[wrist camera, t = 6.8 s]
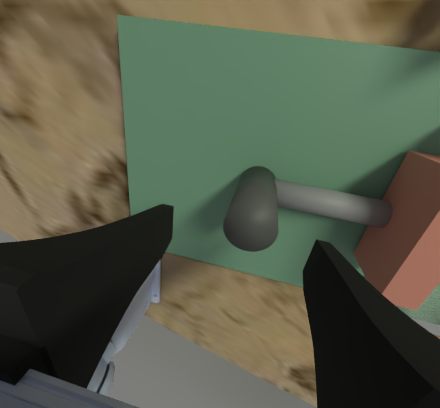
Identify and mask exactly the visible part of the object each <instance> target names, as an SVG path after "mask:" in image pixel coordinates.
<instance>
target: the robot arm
mask: <svg viewBox="0 0 440 408" xmlns="http://www.w3.org/2000/svg"><path fill="white" fill-rule="evenodd" d="M173 213H174V206H171V205H166V204H160V205H157V206H155V207H152V208H150V209H147V210H145V211H142V212H140V213H137V214H135V215H132V216H130V217H127V218H124V219H121V220H119V221H116V222H113V223H110V224H107V225H104V226H100V227H97V228H93V229H89V230H85V231H81V232H76V233H71V234H66V235H61V236H56V237H50V238H43V239H36V240H28V241H19V242H7V243H0V408H138V407H136V406H133V405H130V404H127V403H124V402H122V401H119V400H116V399H113V398H110V397H108V394H109V392H110V389H111V387H112V383H113V378H114V371H115V366H114V363H113V362H112V361H111V359H112V357H113V356H114V355H115V354H116V353H118V352H119V351H120V350H121V349H122V348H123V347H124V346H125V345H126V344H127V342H128V341H129V339H130V337H131V336H132V334H133V332H134V330H135V329H136V327H137V325H138V324H139V322H140V320H141V319H142V317H143V315H144V313H145V312H146V310H147V308H148V307H149V305H150V303H151V302H154V303H159V301H160V260H161V258H162V256H163V255H164V253H165V251H166V250H167V248H168V246H169V244H170V242H171V240H172V235H173ZM303 290H304V296H305V302H306V308H307V313H308V318H309V324H310V329H311V334H312V341H313V348H314V360H315V372H316V389H317V408H440V339H438V338H437V337H436V336H434V335H433V334H432V333H430V332H429V331H427V330H426V329H425V328H423V327H422V326H421V325H419V324H418V323H417V322H415V321H414V320H413V319H411V318H410V317H409V316H408V315H406V314H405V313H404V312H403V311H401V310H400V309H399V308H398V307H396V306H395V305H394V304H393V303H392V302H390V301H389V300H388V299H387V298H386V297H385V296H383V295H382V294H381V293H380V292H379V291H378V290H377V289H376V288H375V287H374V286H373V285H372V284H370V283H369V282H368V281H367V280H366V279H365V278H364V277H363V276H362V275H361V274H360V273H359V272H358V271H357V270H356V269H355V268H354V267H353V266H352V265H351V264H350V263H349V262H348V261H347V259H346V258H345V257H344V256H343V255H342V254H341V253H340V252H339V251H338V250H337V249H336V248H335V247H334V246H333V245H332V244H331V243H330V242H326V241H322V240H317V239H316V241H315V243H314V245H313V248H312V250H311V252H310V255H309V257H308V259H307V262H306V264H305V266H304V269H303Z"/></svg>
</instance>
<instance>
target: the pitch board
mask: <svg viewBox="0 0 440 408" xmlns="http://www.w3.org/2000/svg"><path fill="white" fill-rule="evenodd" d="M117 22H118V37H119V52H120V67H121V82H122V96H123V111H124V126H125V141H126V155H127V170H128V185H129V200H130V214H131V216H132V215H135V214H137V213H140V212H142V211H145V210H147V209H150V208H152V207H155V206H157V205H160V204H166V205H171V206H174V213H173V235H172V240H171V242H170V244H169V246H168V248H167V250H166V251H165V252H168V253H171V254H175V255H179V256H183V257H187V258H191V259H195V260H199V261H203V262H207V263H210V264H214V265H218V266H222V267H226V268H230V269H234V270H238V271H242V272H245V273H249V274H253V275H257V276H261V277H265V278H269V279H273V280H277V281H280V282H284V283H288V284H292V285H296V286H300V287H303V269H304V266H305V264H306V262H307V259H308V257H309V255H310V252H311V250H312V248H313V245H314V243H315V241H316V239H317V240H322V241H326V242H330V243H331V244H332V245H333V246H334V247H335V248H336V249H337V250H338V251H339V252H340V253H341V254H342V255H343V256H344V257H345V258H346V259H347V261H348V262H349V263H350V264H351V265H352V266H353V267H354V268H355V269H356V270H357V271H358V272H359V273H360V274H361V275H362V276H363V277H364V278H365V279H366V277H365V275H364V273H363V271H362V269H361V267H360V265H359V264H358V262H357V260H356V258H355V256H354V254H353V253H354V251H355V249H356V247H357V245H358V244H359V242H360V240H361V238H362V236H363V234H364V232H365V231H366V229H367V227H368V225H365V224H360V223H356V222H351V221H346V220H342V219H337V218H332V217H328V216H323V215H318V214H313V213H309V212H304V211H299V210H295V209H290V208H285V207H281V206H278V236H277V238H276V240H275V242H274V243H273V244H272V245H271V246H270V247H268V248H266V249H264V250H261V251H256V252H249V251H244V250H241V249H239V248H237V247H235V246H234V245H232V244H231V243H230V242H229V241H228V239H227V238H226V236H225V234H224V231H223V222H224V219H225V216H226V214H227V211H228V209H229V206H230V204H231V201H232V198H233V196H234V193H235V191H236V188H237V186H238V183H239V180H240V178H241V176H242V174H243V173H244V172H245V171H246V170H247V169H249V168H251V167H254V166H262V167H265V168H267V169H269V170H270V171H271V172H272V173H273V174H274V175H275V178H276V179H279V180H284V181H289V182H294V183H299V184H304V185H309V186H314V187H319V188H324V189H329V190H334V191H339V192H344V193H349V194H354V195H359V196H364V197H369V198H374V199H379V200H382V199H383V197H384V195H385V193H386V191H387V190H388V188H389V186H390V184H391V182H392V180H393V178H394V177H395V175H396V173H397V171H398V169H399V167H400V165H401V163H402V162H403V160H404V158H405V156H406V154H407V152H408V150H409V151H415V152H421V153H427V154H433V155H439V156H440V52H437V51H428V50H419V49H411V48H402V47H393V46H385V45H376V44H367V43H358V42H350V41H341V40H332V39H323V38H315V37H306V36H297V35H289V34H280V33H271V32H262V31H254V30H245V29H236V28H227V27H219V26H210V25H201V24H193V23H184V22H175V21H166V20H158V19H149V18H140V17H131V16H123V15H117ZM434 290H437V291H440V283H439V284H438V285H437V287H436V288H435V289H434Z"/></svg>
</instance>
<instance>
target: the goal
mask: <svg viewBox="0 0 440 408" xmlns="http://www.w3.org/2000/svg"><path fill="white" fill-rule="evenodd" d="M366 280H367V279H366ZM395 306H396V305H395ZM396 307H398V308H399V309H400V310H401V311H403V312H404V313H405V314H406V315H408V316H409V317H410V318H411V319H413V320H414V321H415V322H417V323H418V324H419V325H421V326H422V327H423V328H425V329H426V330H427V331H429V332H430V333H432V334H435V335H439V336H440V291H437V290H433V291H432V293H431V294H430V295H429V296H428V297H427V298H426V300H425V301H424V302H423V303H422V304H421V306H420V307H419V308H418V309H417V310H412V309H408V308H404V307H400V306H396Z"/></svg>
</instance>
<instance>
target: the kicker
mask: <svg viewBox="0 0 440 408" xmlns="http://www.w3.org/2000/svg"><path fill="white" fill-rule="evenodd" d="M278 206H281V207H285V208H290V209H295V210H299V211H304V212H309V213H313V214H318V215H323V216H328V217H332V218H337V219H342V220H346V221H351V222H356V223H360V224H365V225H368V227H367V229H366V231H365V232H364V234H363V236H362V238H361V240H360V242H359V244H358V245H357V247H356V249H355V251H354V253H353V254H354V256H355V258H356V260H357V262H358V264H359V265H360V267H361V269H362V271H363V273H364V275H365V277H366V279H367V281H368V282H369V283H370V284H372V285H373V286H374V287H375V288H376V289H377V290H378V291H379V292H380V293H381V294H382V295H383V296H385V297H386V298H387V299H388V300H389V301H390V302H392V303H393V304H394V305H396V306H400V307H404V308H408V309H412V310H417V309H418V308H419V307H420V306H421V304H422V303H423V302H424V301H425V300H426V298H427V297H428V296H429V295H430V294H431V293H432V291H433V290H434V289H435V288H436V287H437V285H438V284H439V283H440V156H439V155H433V154H427V153H421V152H415V151H409V150H408V152H407V154H406V156H405V158H404V160H403V162H402V163H401V165H400V167H399V169H398V171H397V173H396V175H395V177H394V178H393V180H392V182H391V184H390V186H389V188H388V190H387V191H386V193H385V195H384V197H383V199H382V200H379V199H374V198H369V197H364V196H359V195H354V194H349V193H344V192H339V191H334V190H329V189H324V188H319V187H314V186H309V185H304V184H299V183H294V182H289V181H284V180H279V179H276V178H275V175H274V174H273V173H272V172H271V171H270V170H269V169H267V168H265V167H262V166H254V167H251V168H249V169H247V170H246V171H245V172H244V173H243V174H242V176H241V178H240V180H239V183H238V186H237V188H236V191H235V193H234V196H233V198H232V201H231V204H230V206H229V209H228V211H227V214H226V216H225V219H224V222H223V231H224V234H225V236H226V238H227V239H228V241H229V242H230V243H231V244H232V245H234V246H235V247H237V248H239V249H241V250H244V251H249V252H256V251H261V250H264V249H266V248H268V247H270V246H271V245H272V244H273V243H274V242H275V240H276V238H277V236H278Z"/></svg>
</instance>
